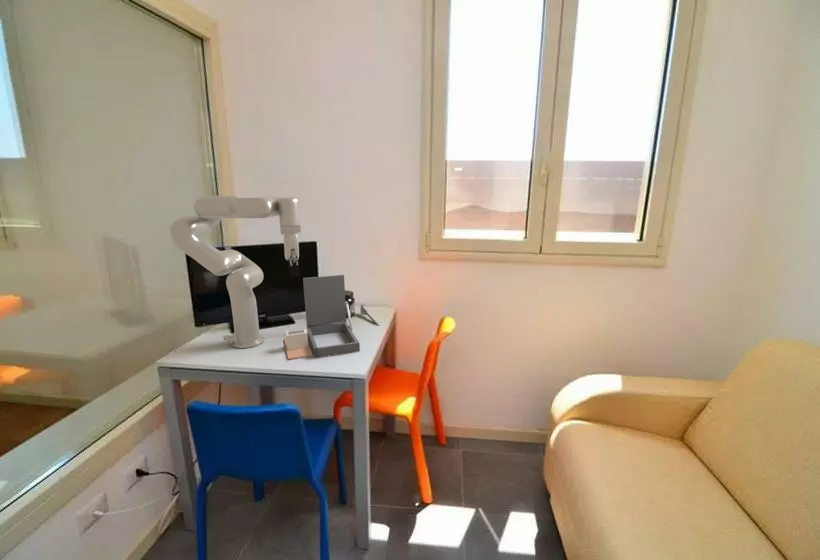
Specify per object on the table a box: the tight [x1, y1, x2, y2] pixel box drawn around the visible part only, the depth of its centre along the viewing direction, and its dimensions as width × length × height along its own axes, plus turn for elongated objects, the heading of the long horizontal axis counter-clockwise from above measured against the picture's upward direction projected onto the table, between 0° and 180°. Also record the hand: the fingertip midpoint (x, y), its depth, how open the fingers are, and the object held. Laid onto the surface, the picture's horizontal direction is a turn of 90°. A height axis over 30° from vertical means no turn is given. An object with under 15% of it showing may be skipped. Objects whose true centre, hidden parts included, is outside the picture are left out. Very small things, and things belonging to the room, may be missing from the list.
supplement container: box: [345, 289, 356, 319], centre depth 200 cm, size 10×10×12 cm
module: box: [285, 328, 309, 350], centre depth 162 cm, size 8×5×6 cm, turn 111°
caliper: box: [360, 303, 381, 326], centre depth 195 cm, size 20×1×6 cm, turn 31°
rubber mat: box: [283, 337, 313, 361], centre depth 162 cm, size 9×22×1 cm, turn 20°
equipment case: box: [302, 274, 361, 359], centre depth 165 cm, size 19×26×26 cm
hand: (293, 273), depth 158 cm, fingers open, 9 cm apart
